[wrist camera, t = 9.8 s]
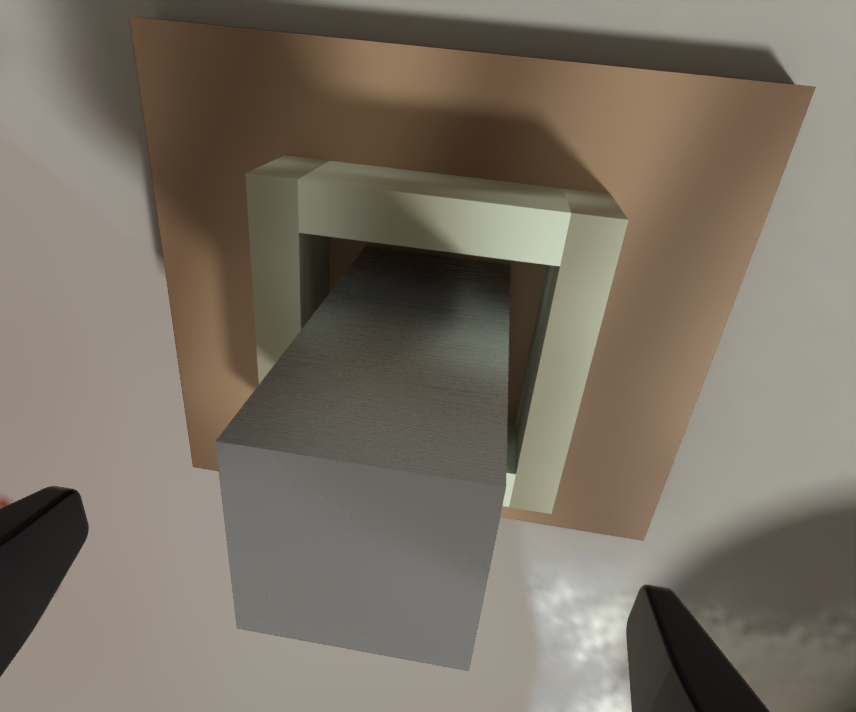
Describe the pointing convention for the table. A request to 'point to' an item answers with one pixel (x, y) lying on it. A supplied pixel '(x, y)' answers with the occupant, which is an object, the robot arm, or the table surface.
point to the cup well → (467, 228)
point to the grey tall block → (376, 463)
